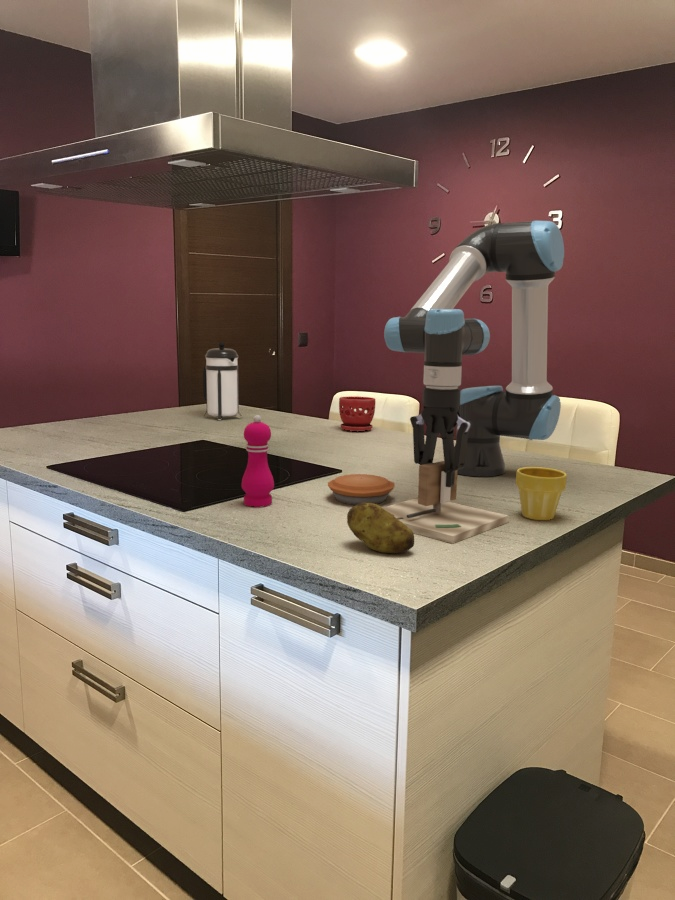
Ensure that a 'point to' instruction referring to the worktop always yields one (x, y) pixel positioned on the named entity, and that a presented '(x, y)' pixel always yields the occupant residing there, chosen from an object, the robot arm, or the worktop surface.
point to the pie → (360, 488)
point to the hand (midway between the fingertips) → (437, 499)
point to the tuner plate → (446, 520)
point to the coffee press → (221, 382)
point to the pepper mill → (257, 465)
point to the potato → (379, 529)
